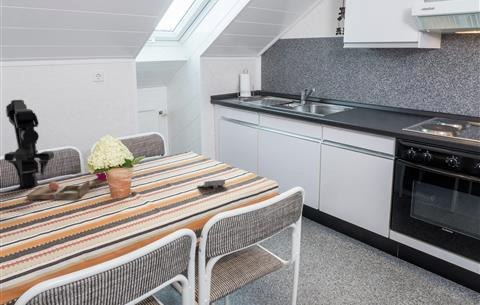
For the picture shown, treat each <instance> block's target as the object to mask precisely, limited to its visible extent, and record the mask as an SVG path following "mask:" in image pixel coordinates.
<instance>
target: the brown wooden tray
mask: <svg viewBox="0 0 480 305" xmlns="http://www.w3.org/2000/svg"><path fill="white" fill-rule="evenodd" d="M90 190H91V188H90V180H86V181H85V182H84V183H82V184H81V185H79V184H78V185H76V184H75V185H65V186H59V187H58V189H57V190H55V191H53V190H50V189H49V186H39V187H37V188H35V189H34V190H32V191H30V192H29V193H27V194H26V199H27V200H63V199H64V200H65V199H67V200H72V199H74V200H76V199H82V198H83V197H84V196H86V195H87V194H88V192H90Z"/></svg>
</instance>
